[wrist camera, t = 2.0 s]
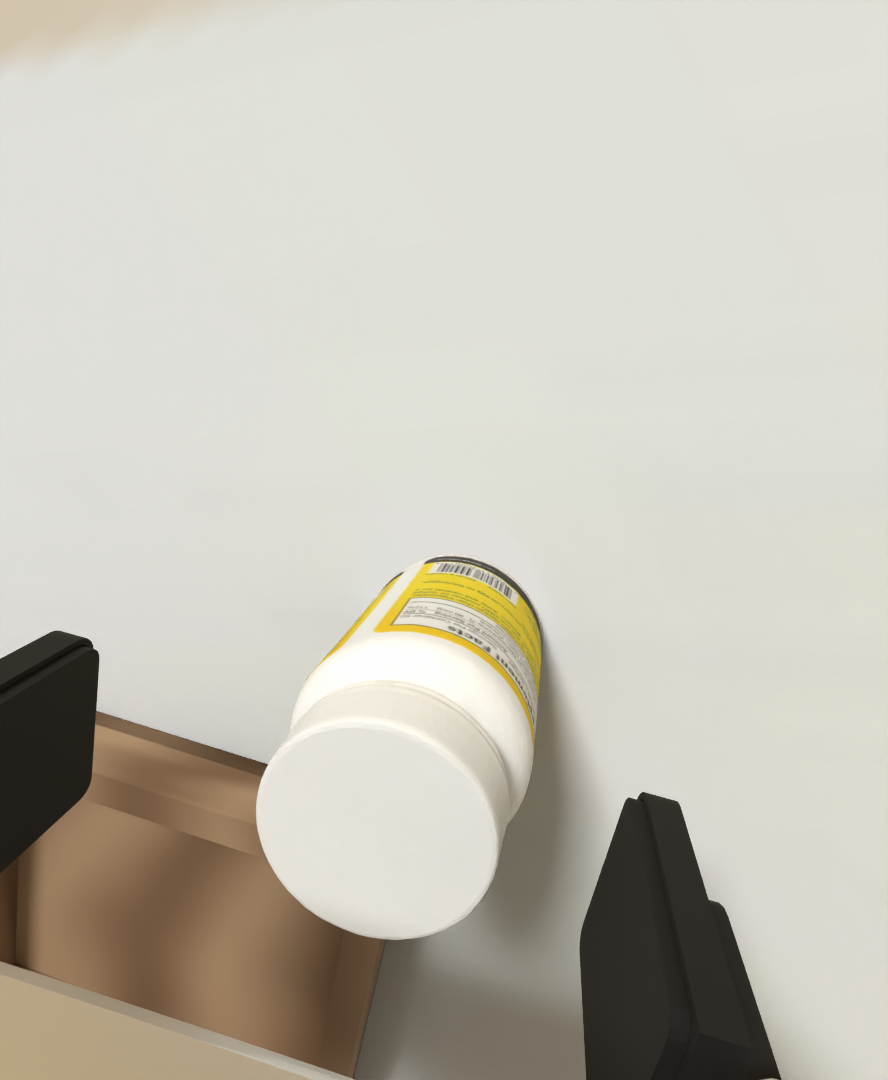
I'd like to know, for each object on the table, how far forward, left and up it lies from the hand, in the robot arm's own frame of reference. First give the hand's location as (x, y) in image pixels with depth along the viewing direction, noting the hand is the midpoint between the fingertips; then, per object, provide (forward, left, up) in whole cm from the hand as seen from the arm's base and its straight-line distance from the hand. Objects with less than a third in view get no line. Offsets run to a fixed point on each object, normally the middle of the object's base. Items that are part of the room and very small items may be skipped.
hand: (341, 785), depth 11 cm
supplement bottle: (-1, 0, -8) cm, 8 cm away
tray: (+6, +12, -8) cm, 16 cm away
